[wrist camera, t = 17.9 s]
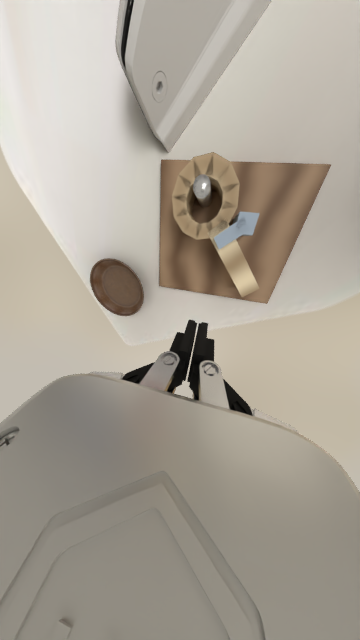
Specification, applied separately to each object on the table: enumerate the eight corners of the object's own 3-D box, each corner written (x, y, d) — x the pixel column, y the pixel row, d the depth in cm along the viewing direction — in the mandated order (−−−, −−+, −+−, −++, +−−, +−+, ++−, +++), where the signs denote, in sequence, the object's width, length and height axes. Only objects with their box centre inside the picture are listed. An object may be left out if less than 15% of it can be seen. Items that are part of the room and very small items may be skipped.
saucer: (87, 261, 36) (79, 263, 34) (138, 252, 32) (132, 254, 30) (110, 312, 43) (104, 316, 41) (153, 310, 39) (149, 315, 37)
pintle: (213, 192, 24) (211, 174, 17) (210, 208, 25) (208, 197, 18) (200, 191, 24) (194, 173, 17) (198, 207, 25) (192, 196, 19)
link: (171, 203, 25) (160, 194, 20) (217, 156, 21) (217, 130, 16) (224, 294, 31) (225, 305, 26) (267, 271, 27) (279, 278, 22)
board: (326, 167, 20) (331, 164, 19) (265, 301, 31) (267, 303, 30) (163, 162, 23) (161, 159, 23) (160, 284, 34) (159, 285, 33)
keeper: (247, 220, 25) (259, 213, 18) (239, 249, 27) (247, 252, 20) (218, 217, 25) (218, 209, 18) (212, 246, 28) (211, 248, 21)
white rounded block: (167, 155, 23) (117, 74, 14) (152, 132, 23) (94, 37, 14) (275, -5, 15) (316, -420, 6) (251, -39, 15) (259, -488, 6)
